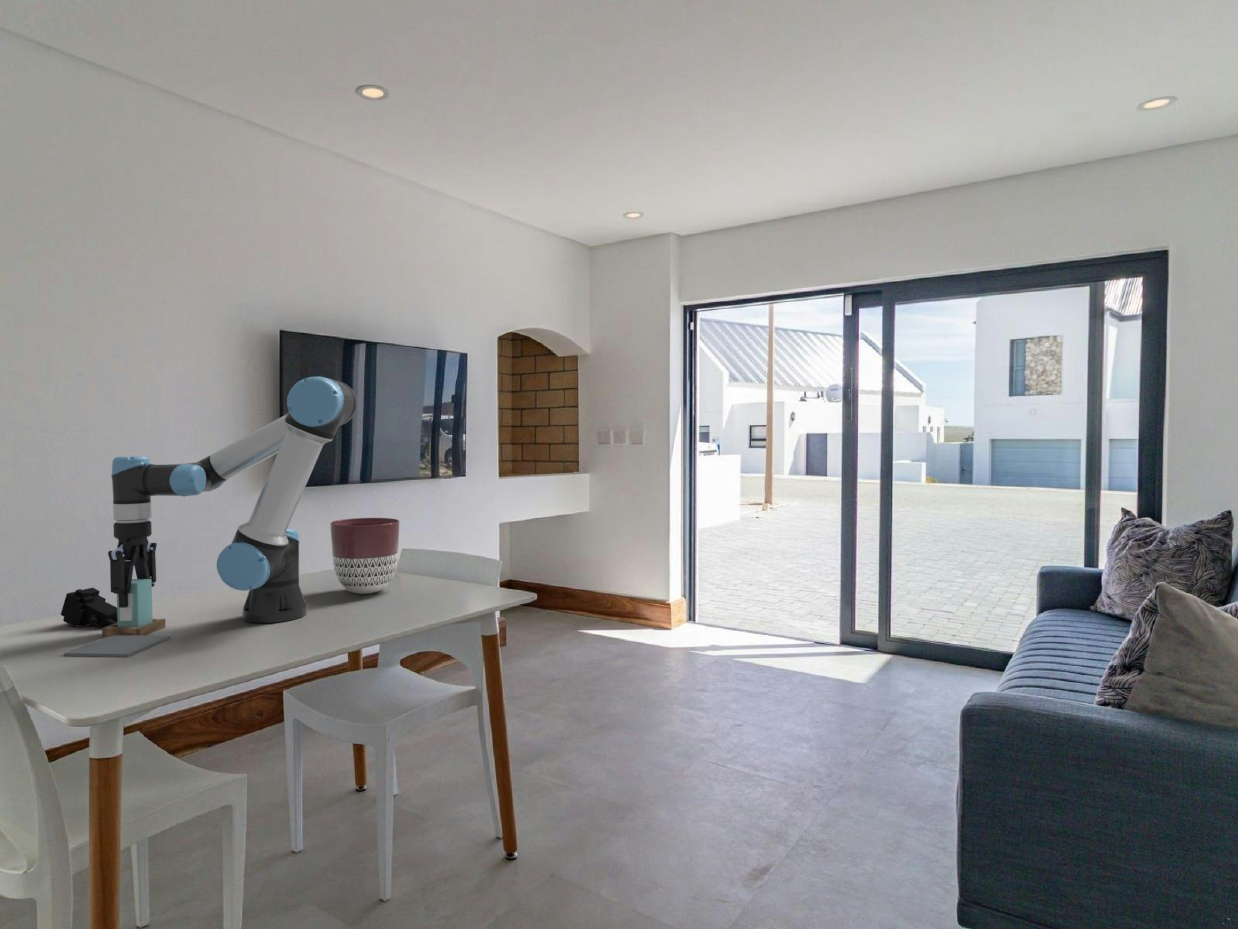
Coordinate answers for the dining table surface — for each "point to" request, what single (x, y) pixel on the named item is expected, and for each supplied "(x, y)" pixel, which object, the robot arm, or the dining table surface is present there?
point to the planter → (365, 552)
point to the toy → (88, 609)
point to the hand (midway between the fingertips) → (135, 617)
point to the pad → (118, 645)
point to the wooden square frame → (133, 629)
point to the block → (139, 604)
